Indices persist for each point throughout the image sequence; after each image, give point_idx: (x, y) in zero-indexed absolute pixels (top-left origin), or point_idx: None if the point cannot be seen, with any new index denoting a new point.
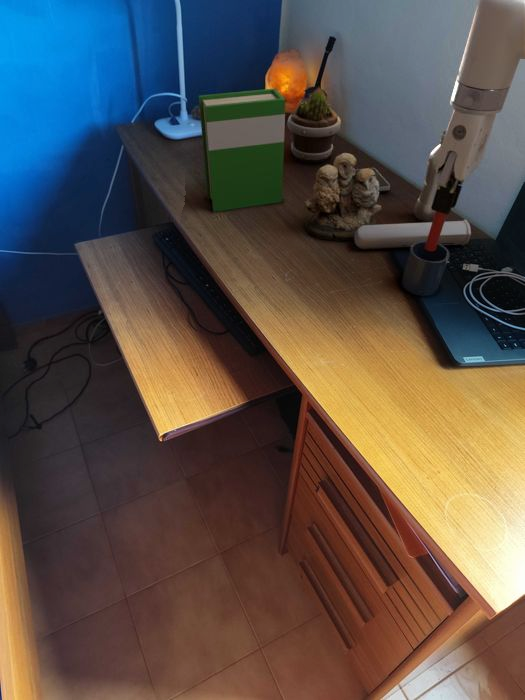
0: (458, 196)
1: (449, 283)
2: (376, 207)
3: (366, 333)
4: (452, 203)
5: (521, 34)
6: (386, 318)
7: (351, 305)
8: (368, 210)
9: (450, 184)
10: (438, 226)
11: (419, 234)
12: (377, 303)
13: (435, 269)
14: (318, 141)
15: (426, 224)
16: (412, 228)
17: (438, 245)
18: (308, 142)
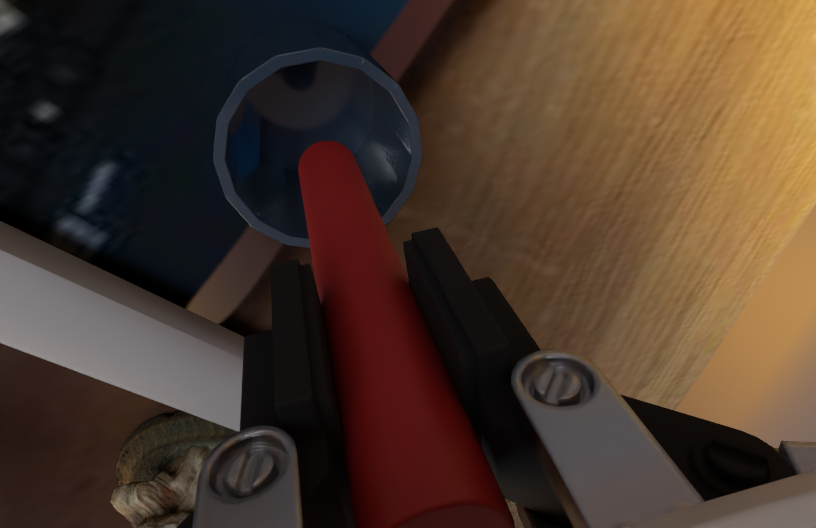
0: (279, 320)
1: (184, 7)
2: (146, 502)
3: (665, 72)
4: (446, 276)
5: None
6: (565, 70)
7: (572, 192)
8: (177, 500)
9: (770, 466)
10: (377, 216)
11: (92, 301)
12: (513, 143)
13: (372, 61)
14: None
15: (10, 330)
16: (106, 343)
17: (226, 162)
18: None
